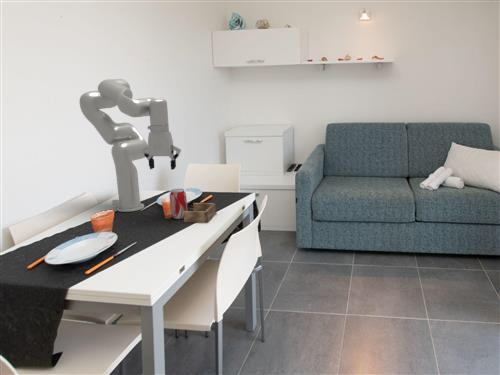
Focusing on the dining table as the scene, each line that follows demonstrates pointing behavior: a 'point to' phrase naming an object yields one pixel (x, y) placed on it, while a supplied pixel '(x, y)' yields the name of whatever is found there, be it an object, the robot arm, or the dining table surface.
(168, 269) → the dining table surface
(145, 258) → the dining table surface
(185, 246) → the dining table surface
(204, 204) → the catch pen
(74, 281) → the dining table surface
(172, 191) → the soda can
